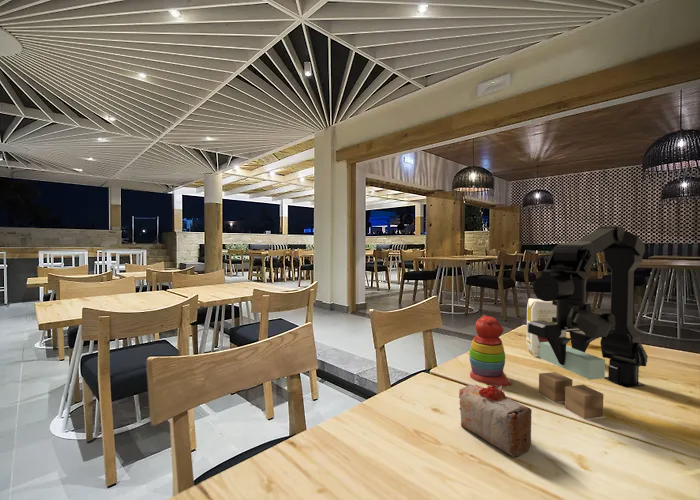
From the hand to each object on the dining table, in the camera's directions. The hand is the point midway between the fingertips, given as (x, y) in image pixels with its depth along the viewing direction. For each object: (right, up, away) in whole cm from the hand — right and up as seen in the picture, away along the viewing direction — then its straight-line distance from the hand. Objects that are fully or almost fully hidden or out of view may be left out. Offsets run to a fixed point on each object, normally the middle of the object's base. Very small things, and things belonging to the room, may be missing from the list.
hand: (569, 363), depth 81 cm
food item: (-23, -11, -12) cm, 28 cm away
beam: (0, -1, 0) cm, 1 cm away
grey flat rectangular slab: (+4, -10, +1) cm, 11 cm away
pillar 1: (-1, -9, +4) cm, 10 cm away
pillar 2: (+1, -10, -4) cm, 10 cm away
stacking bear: (-13, -10, +16) cm, 23 cm away
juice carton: (+14, -9, +37) cm, 41 cm away
